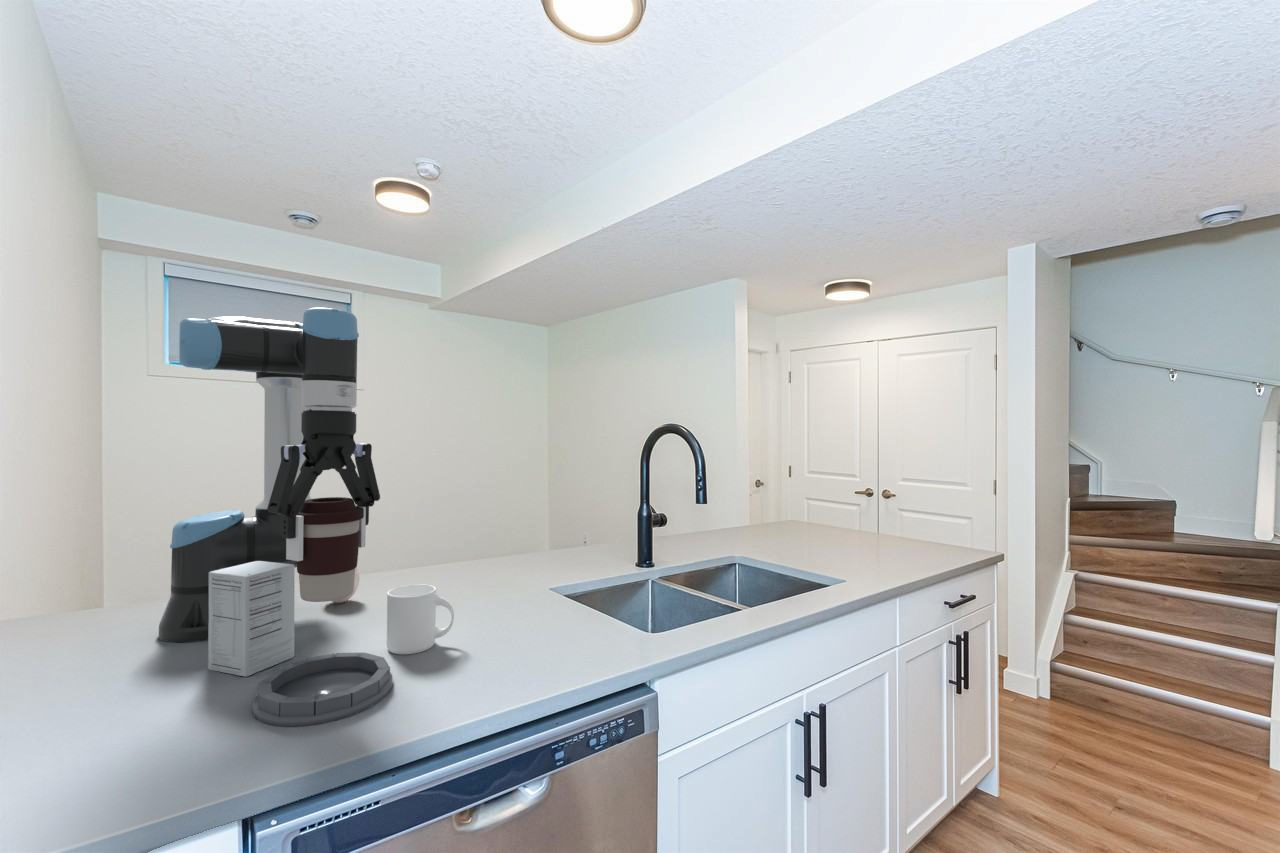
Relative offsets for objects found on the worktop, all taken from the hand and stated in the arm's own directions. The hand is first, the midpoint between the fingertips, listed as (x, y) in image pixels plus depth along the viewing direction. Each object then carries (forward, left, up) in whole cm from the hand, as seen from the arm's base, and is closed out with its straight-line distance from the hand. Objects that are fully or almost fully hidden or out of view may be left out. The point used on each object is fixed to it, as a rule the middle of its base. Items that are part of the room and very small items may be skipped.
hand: (327, 552), depth 89 cm
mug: (-2, +21, -22) cm, 31 cm away
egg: (-39, +32, -22) cm, 55 cm away
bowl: (0, 0, -22) cm, 22 cm away
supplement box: (-22, +2, -22) cm, 31 cm away
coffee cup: (0, 0, -7) cm, 7 cm away
